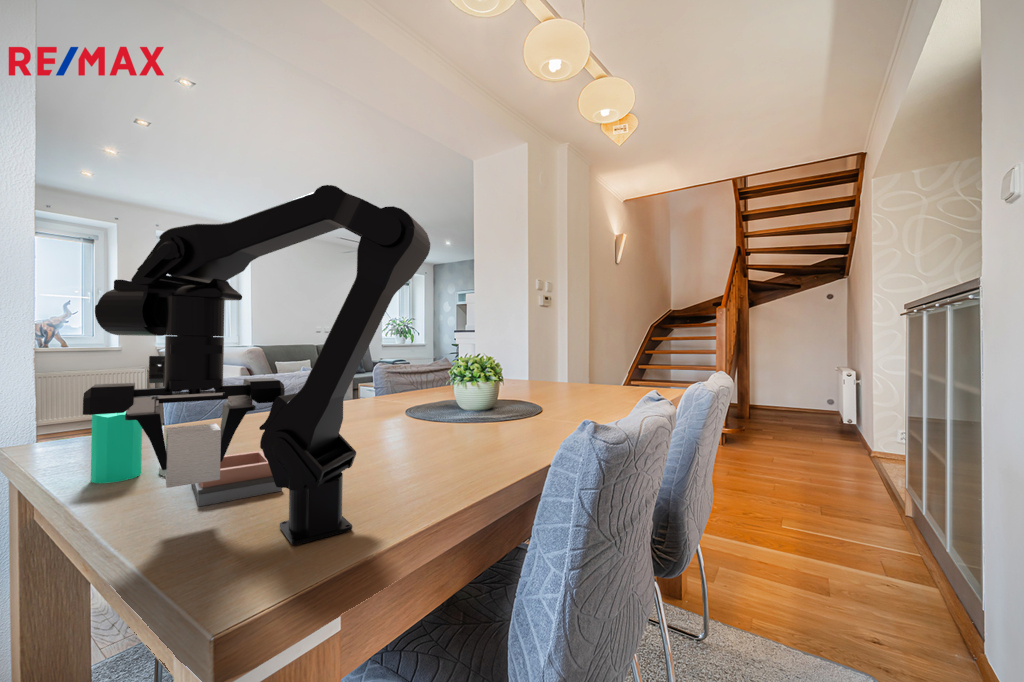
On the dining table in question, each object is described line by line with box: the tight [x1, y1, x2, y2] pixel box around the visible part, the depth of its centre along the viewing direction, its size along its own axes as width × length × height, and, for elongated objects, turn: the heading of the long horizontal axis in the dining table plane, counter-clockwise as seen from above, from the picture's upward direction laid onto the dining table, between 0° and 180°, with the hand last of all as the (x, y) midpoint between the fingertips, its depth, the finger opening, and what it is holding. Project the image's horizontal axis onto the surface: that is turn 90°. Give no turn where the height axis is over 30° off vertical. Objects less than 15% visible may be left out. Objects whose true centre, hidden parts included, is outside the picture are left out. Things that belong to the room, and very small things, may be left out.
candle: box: [90, 410, 143, 484], centre depth 68 cm, size 6×6×12 cm
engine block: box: [164, 423, 221, 489], centre depth 52 cm, size 5×5×6 cm
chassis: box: [191, 450, 283, 507], centre depth 64 cm, size 12×10×4 cm
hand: (192, 465), depth 51 cm, fingers closed on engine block, 5 cm apart
